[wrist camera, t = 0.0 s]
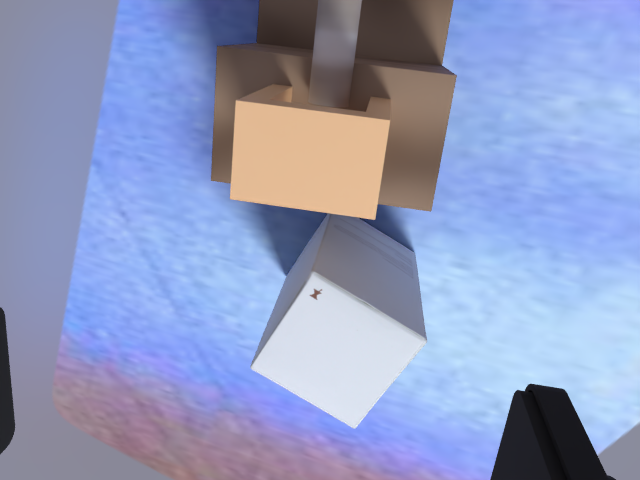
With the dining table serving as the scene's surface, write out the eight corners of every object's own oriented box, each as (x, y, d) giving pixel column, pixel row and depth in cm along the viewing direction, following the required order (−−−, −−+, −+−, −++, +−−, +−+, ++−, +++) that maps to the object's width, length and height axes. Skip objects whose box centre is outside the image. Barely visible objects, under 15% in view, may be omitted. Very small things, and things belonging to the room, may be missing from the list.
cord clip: (273, 84, 29) (235, 100, 22) (390, 98, 29) (390, 120, 22) (267, 160, 31) (229, 199, 24) (379, 176, 30) (375, 219, 23)
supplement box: (283, 277, 44) (243, 367, 32) (335, 200, 41) (312, 266, 30) (364, 327, 45) (354, 434, 33) (420, 254, 42) (430, 340, 30)
